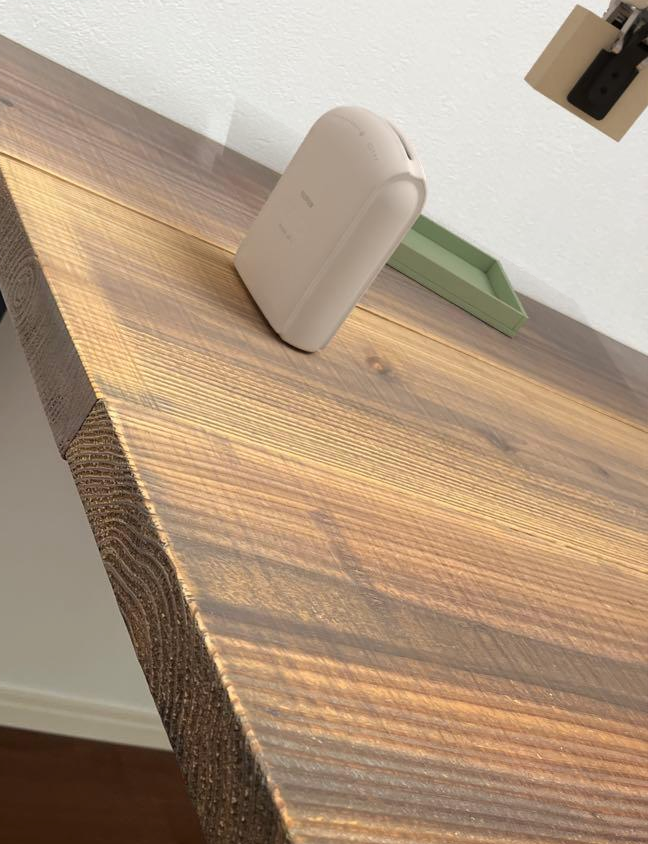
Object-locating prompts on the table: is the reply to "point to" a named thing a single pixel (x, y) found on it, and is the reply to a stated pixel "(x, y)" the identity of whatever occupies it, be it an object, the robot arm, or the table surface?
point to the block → (572, 59)
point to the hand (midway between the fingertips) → (576, 102)
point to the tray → (459, 274)
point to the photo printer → (331, 224)
